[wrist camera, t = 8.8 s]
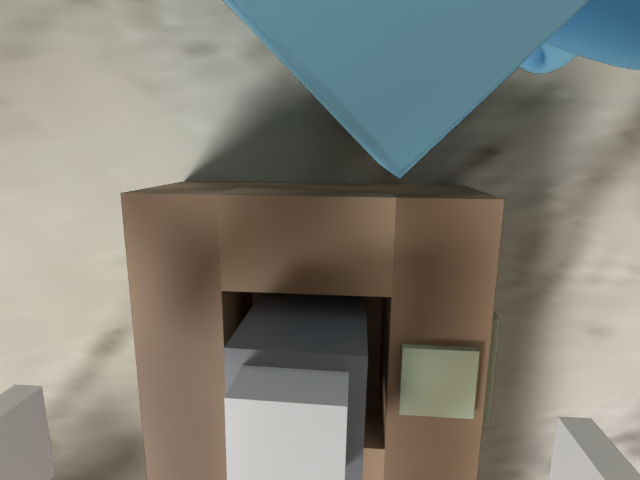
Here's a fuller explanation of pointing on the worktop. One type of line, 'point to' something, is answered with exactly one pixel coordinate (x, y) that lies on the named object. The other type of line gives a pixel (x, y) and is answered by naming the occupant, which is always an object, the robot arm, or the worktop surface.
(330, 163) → the worktop surface
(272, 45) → the teapot
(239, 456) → the plug
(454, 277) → the socket block
